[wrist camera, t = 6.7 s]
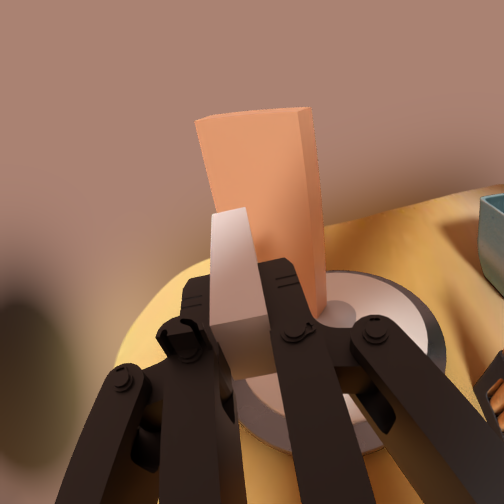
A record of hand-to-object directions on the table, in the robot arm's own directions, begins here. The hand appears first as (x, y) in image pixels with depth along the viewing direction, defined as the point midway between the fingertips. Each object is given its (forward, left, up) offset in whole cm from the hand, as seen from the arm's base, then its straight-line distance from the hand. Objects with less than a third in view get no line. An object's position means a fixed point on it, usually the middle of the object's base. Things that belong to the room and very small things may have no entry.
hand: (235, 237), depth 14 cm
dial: (+1, -6, -12) cm, 14 cm away
